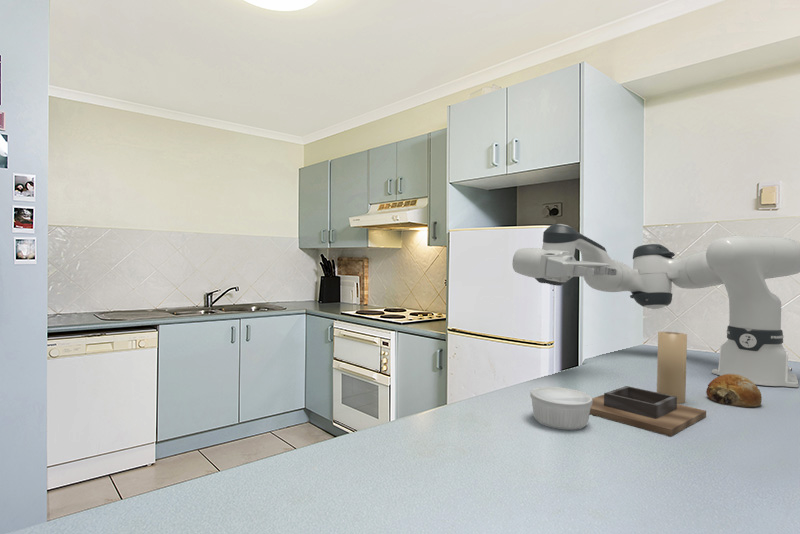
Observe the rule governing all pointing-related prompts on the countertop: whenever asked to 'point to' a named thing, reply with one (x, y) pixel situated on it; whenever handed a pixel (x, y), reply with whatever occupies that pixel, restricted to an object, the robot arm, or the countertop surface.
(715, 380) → the bread roll
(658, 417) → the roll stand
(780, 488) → the countertop surface
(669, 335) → the beige pillar candle
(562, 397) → the ramekin
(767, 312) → the robot arm
